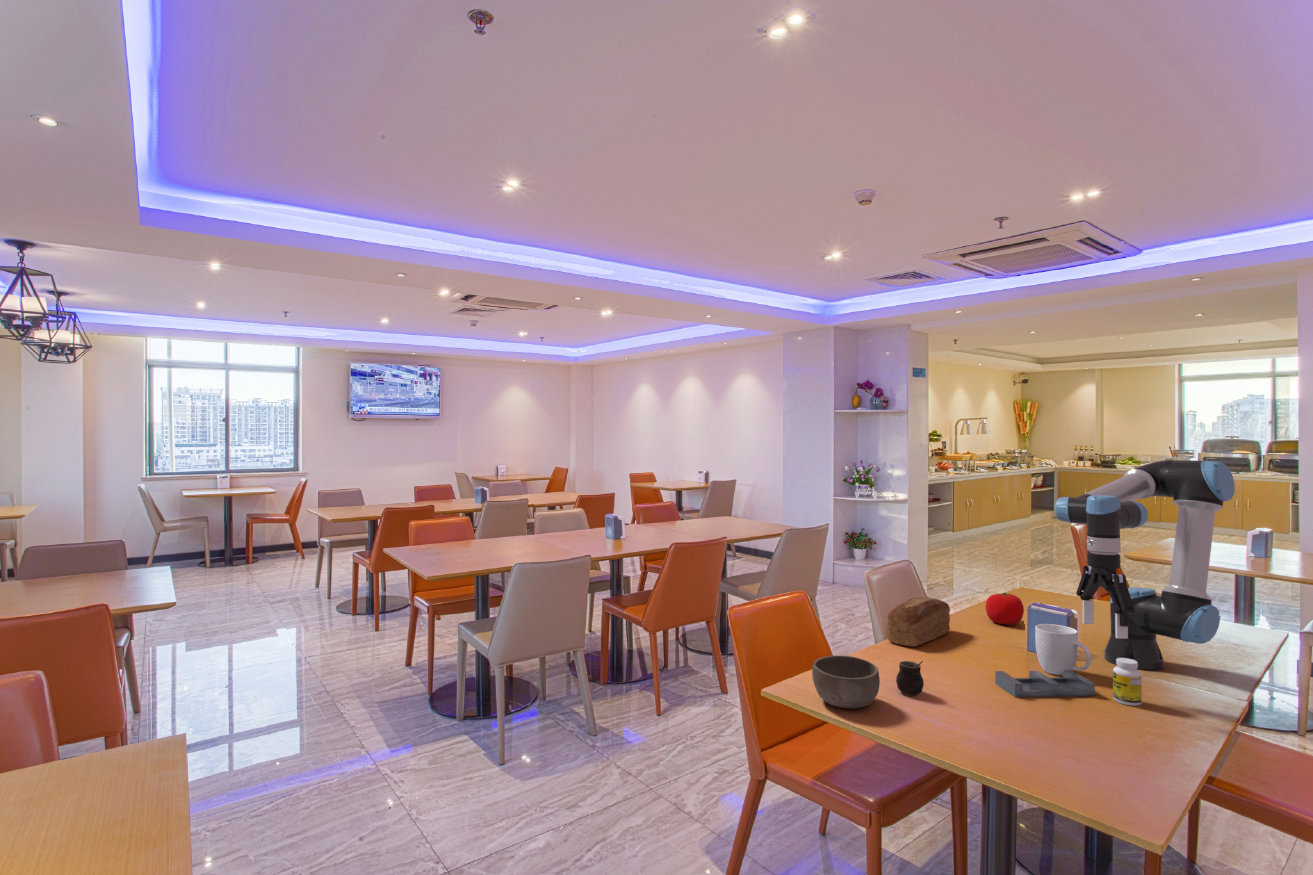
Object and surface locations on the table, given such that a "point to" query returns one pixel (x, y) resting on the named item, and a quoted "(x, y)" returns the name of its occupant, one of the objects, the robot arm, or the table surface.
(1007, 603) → the tomato
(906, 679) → the mate gourd
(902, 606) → the bread
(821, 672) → the bowl
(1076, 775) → the table surface
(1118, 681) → the pill bottle
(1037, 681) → the gray divided tray
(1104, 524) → the robot arm
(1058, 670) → the mug
